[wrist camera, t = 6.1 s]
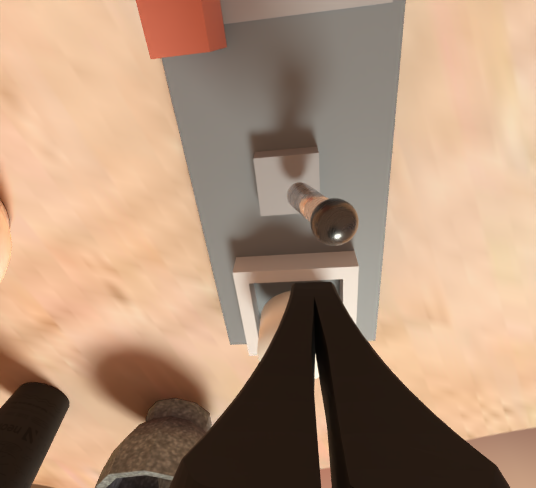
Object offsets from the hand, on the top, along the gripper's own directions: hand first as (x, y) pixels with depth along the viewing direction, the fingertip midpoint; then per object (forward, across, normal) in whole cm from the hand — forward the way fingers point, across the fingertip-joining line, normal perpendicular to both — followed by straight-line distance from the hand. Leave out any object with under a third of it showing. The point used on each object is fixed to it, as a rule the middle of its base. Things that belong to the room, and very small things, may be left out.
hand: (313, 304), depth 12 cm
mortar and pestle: (+10, +12, +24) cm, 28 cm away
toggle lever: (+6, +1, -2) cm, 7 cm away
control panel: (+9, +1, -2) cm, 10 cm away
